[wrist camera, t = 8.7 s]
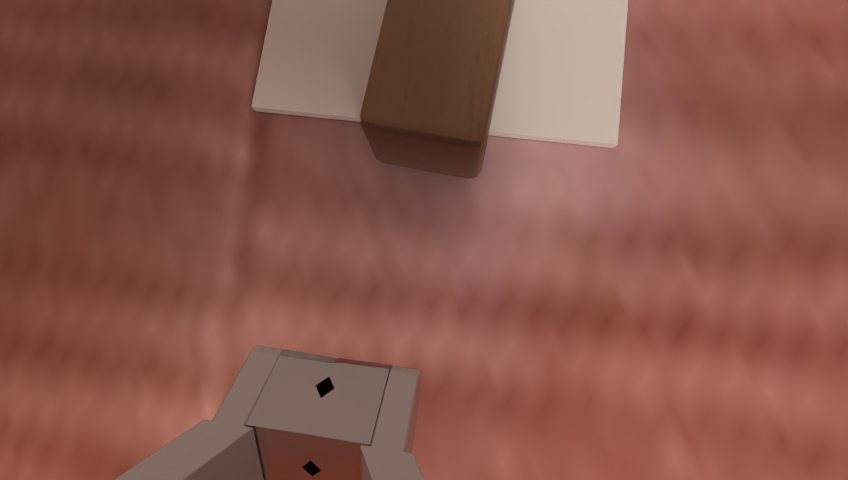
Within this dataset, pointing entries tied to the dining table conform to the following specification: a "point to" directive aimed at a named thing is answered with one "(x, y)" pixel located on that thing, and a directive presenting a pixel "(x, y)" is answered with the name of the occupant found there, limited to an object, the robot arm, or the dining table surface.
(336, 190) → the dining table surface
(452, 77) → the wooden block
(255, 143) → the dining table surface
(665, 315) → the dining table surface
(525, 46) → the plate
